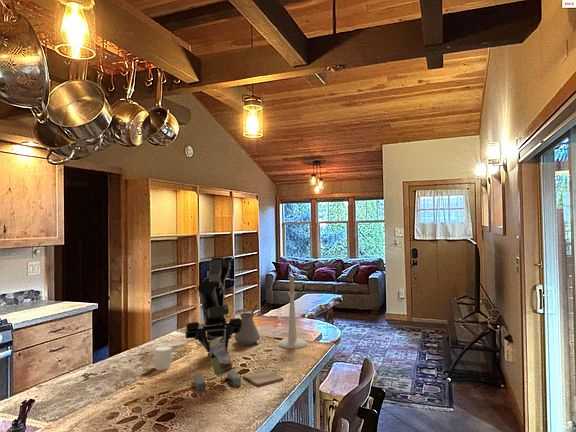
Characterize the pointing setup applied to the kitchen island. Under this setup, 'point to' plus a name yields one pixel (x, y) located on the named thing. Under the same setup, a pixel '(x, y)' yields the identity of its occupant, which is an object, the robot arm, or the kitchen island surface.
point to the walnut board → (263, 377)
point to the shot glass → (162, 357)
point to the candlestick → (292, 325)
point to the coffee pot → (247, 329)
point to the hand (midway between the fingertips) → (217, 350)
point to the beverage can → (219, 356)
